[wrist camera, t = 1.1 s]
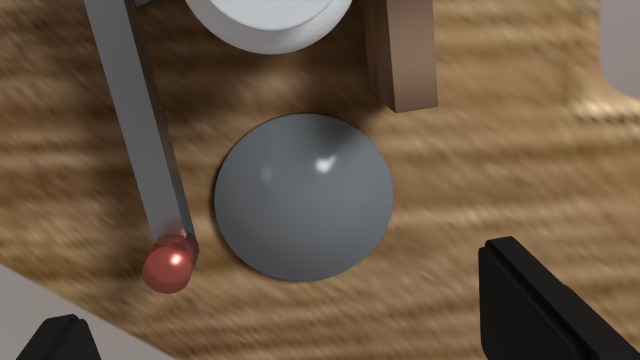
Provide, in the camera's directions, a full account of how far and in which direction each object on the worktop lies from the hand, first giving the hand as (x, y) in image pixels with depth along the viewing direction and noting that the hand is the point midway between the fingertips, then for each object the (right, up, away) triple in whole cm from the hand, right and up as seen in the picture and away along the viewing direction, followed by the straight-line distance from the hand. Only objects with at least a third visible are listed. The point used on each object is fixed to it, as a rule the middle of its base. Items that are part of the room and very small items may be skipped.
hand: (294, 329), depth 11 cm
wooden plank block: (+4, +14, +15) cm, 21 cm away
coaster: (0, +2, +19) cm, 19 cm away
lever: (-8, +9, +15) cm, 19 cm away
